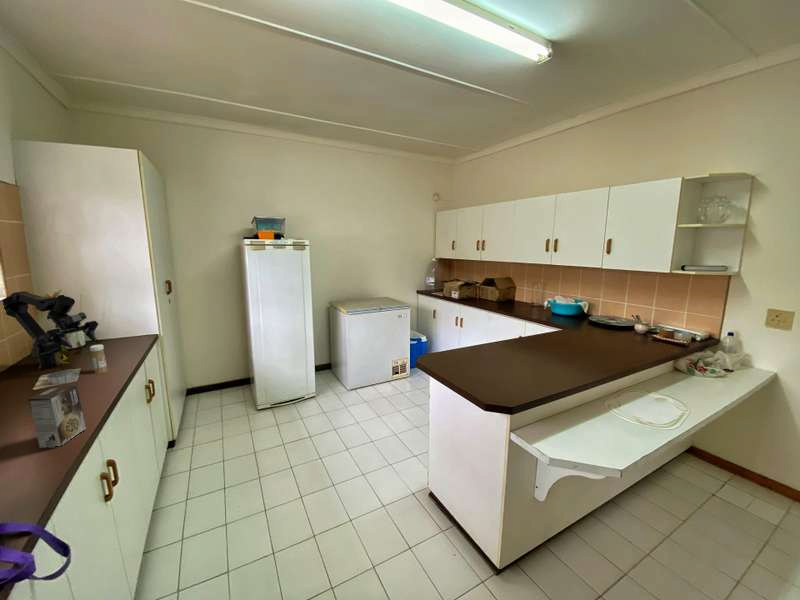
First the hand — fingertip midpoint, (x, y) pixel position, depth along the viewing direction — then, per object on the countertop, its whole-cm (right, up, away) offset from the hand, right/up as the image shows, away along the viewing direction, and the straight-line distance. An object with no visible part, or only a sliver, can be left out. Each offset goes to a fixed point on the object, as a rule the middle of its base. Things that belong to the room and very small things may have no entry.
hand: (83, 344), depth 151 cm
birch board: (-5, -15, -7) cm, 17 cm away
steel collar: (0, -14, -9) cm, 17 cm away
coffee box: (+40, -23, -48) cm, 67 cm away
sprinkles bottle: (+8, -14, +1) cm, 16 cm away
